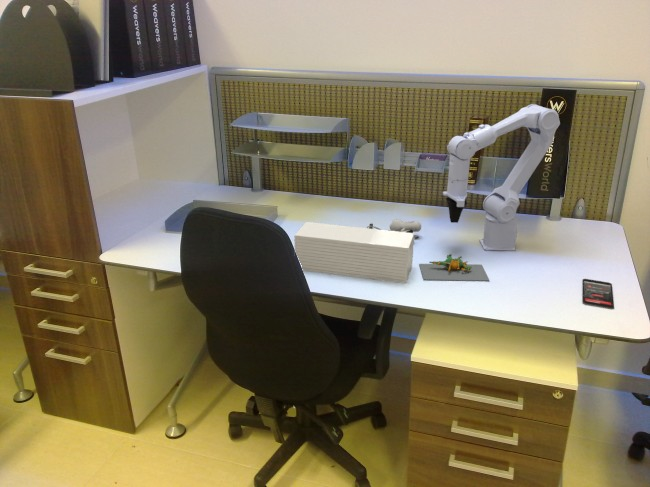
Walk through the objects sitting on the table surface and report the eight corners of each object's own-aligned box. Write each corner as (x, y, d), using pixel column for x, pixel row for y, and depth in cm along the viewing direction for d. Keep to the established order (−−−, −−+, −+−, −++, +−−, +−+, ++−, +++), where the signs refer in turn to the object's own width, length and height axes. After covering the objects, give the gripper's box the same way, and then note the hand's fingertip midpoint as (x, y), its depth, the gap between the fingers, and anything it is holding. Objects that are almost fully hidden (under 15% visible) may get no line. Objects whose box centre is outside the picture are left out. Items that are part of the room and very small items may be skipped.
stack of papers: (412, 267, 166) (414, 233, 161) (406, 284, 156) (408, 247, 152) (306, 254, 174) (306, 221, 170) (295, 269, 164) (294, 235, 160)
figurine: (470, 265, 166) (471, 278, 159) (428, 259, 168) (427, 272, 161) (472, 256, 165) (473, 268, 158) (430, 250, 167) (429, 262, 159)
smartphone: (582, 303, 145) (582, 278, 158) (582, 305, 145) (582, 280, 158) (614, 308, 142) (611, 282, 155) (613, 311, 143) (611, 285, 155)
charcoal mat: (481, 265, 166) (481, 264, 166) (489, 281, 157) (489, 280, 157) (419, 264, 167) (419, 263, 167) (423, 280, 158) (423, 279, 157)
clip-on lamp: (361, 247, 186) (412, 246, 177) (357, 229, 184) (408, 227, 174) (375, 231, 195) (425, 230, 186) (371, 214, 193) (422, 212, 183)
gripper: (440, 171, 174) (437, 213, 179) (448, 185, 160) (444, 230, 166) (464, 171, 173) (460, 213, 179) (473, 185, 160) (468, 230, 165)
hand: (454, 221), depth 172 cm, fingers closed
